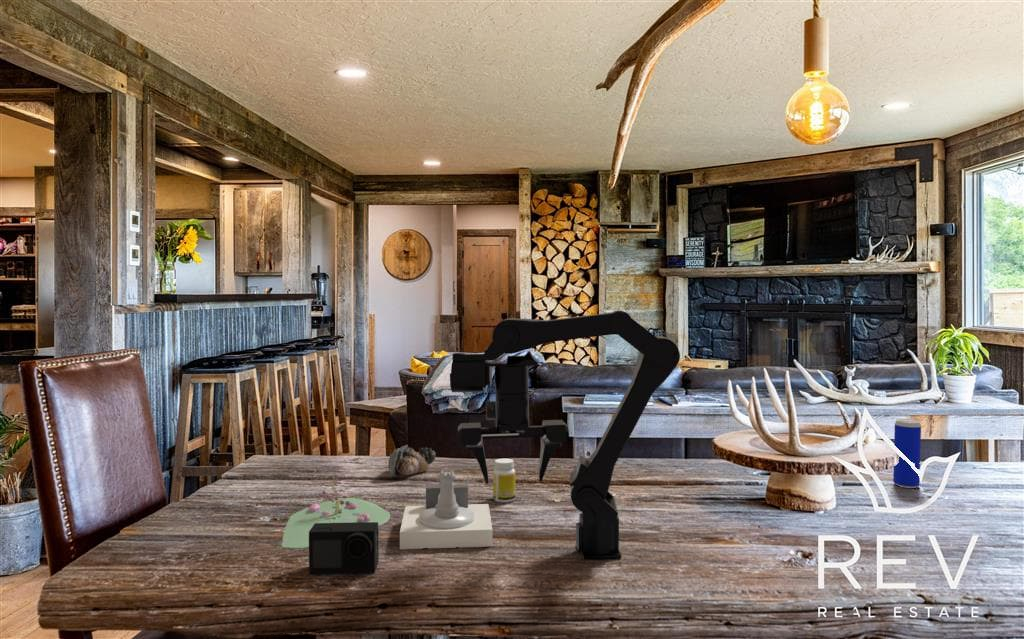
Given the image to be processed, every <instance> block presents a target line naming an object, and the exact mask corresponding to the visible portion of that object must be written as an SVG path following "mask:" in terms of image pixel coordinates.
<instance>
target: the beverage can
mask: <svg viewBox="0 0 1024 639" xmlns="http://www.w3.org/2000/svg"><path fill="white" fill-rule="evenodd" d="M921 438H922V424H921V422H920V421H919V420H915V419H909V418H897V419H896V420H895V422H894V439H893V440H894V441H893V442H894V444H893V445H895V446H896V447H897V448H898V449H899V450H900V451H901V452H902V453H903V454H904V455H905V456H906V457H907V458H908V459H909V460H910V461H911V462H913V463H915V467H916V468H917V469H920V470H921V443H922V442H921V440H922V439H921ZM919 463H920V464H919ZM892 474H893V475H892V476H893V478H892V479H893V484H894V485H895V484H896V485H898V486H902V487H908V488H916V487H917V488H919V486H920V478H921V477H920V478H919V476H918V474H917V473H916V472H915V471H914V470H913V469H912V468H911V466H910V465H909V464H908V463H907V462H906V461H905V460H903V459H902V458H901V457H899V463H898V464H897V465H896V466H894V465H893V473H892ZM896 485H895V486H896ZM898 486H897V487H898ZM917 488H916V489H917Z"/></svg>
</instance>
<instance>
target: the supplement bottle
mask: <svg viewBox="0 0 1024 639" xmlns="http://www.w3.org/2000/svg"><path fill="white" fill-rule="evenodd" d="M514 467H515V464H514V460H513V459H511V458H497V459H495V460H494V469H493V471H492V484H493V485H492V487H493V488H492V493H493V494H492V496H493V497H492V498H493V501H494V502H497V503H511V502H514V501H515V500H516V469H515V468H514Z"/></svg>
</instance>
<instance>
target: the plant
mask: <svg viewBox="0 0 1024 639" xmlns="http://www.w3.org/2000/svg"><path fill="white" fill-rule="evenodd" d="M333 476H334V478H333V479H332V480H333V482H332V484H331V485H330V487H331V489H332V490H333V491H334V492H331V493H330V494H328V493H327V492H326V491H325V490H323V491H322V493H318V497H321V498H322V497H326V498H329V497H330V498H329V500H328V501H325V502H321V503H313V504H310V505H309V506H308V507H305V508H303V509H301V510H299V511H297V512H295V513H294V514H292V515H291V516H290V517H289V518H288V521H287V523H286V525H285V528H284V531H283V537H282V540H281V548H286V549H304V548H309V531H310V530H311V528H312V527H313V525H314V524H315V523H353V522H378V527H379V526H381V525H384V524H385V523H387V522H388V521H389V520H390V518H391V513H390V511H387V510H386V509H384V508H382V507H380V506H379V505H377V504H376V503H373V502H370V501H367V500H364V499H360V498H356V497H348V495H342V497H339V495H340V493H341V492H343V488H341V489H337V487H335V486H337V485H341V484H342V482H341V480H340V479H338V478H336V477H337V476H338V475H337V474H333ZM335 478H336V479H335ZM336 481H338V482H336ZM338 491H339V492H340V493H339V492H338ZM334 495H335V496H334ZM282 541H283V542H282Z"/></svg>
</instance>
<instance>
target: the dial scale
mask: <svg viewBox="0 0 1024 639" xmlns="http://www.w3.org/2000/svg"><path fill="white" fill-rule="evenodd" d="M439 485H440V484H431V485H430V484H426V486H425V505H407V506H405V507H404V511H403V516H402V522H401V526H400V530H399V550H421V549H423V548H428V549H448V548H449V549H451V548H452V549H453V548H456V547H459V548H484V547H486V548H487V547H488V548H489V547H493V525H492V524H493V523H492V520H491V519H492V518H491V512H490V505H489V503H480V504H479V503H475V504H472V503H471V504H469V485H468V483H467V484H466V483H465V484H464V483H463V484H455V485H454V496H455V500H456V503H457V504H458V506H459V508H458V509H457V510H458V511H459V513H458V515H457V516H456V517H453V518H439V517H437V516H436V514H435V511H436V509H435V506H436V504H437V503H438V500H439V497H440V486H439Z"/></svg>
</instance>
